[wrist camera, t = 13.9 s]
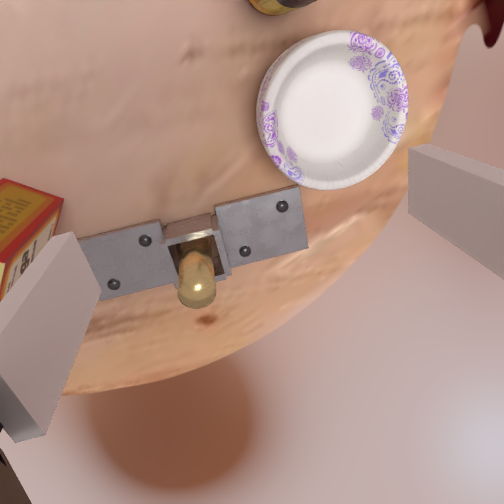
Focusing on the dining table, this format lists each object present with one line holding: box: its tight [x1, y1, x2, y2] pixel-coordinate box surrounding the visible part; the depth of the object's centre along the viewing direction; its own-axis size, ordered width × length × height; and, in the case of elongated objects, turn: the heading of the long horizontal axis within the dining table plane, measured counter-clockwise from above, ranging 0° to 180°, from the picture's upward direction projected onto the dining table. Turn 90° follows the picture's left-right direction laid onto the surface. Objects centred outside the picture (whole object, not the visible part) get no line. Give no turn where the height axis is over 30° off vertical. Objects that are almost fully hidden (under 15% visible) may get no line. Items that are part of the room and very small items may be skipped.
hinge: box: [77, 185, 309, 301], centre depth 47 cm, size 29×9×5 cm, turn 102°
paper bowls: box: [256, 30, 409, 190], centre depth 40 cm, size 15×15×8 cm
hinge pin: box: [178, 236, 216, 309], centre depth 44 cm, size 4×4×12 cm
